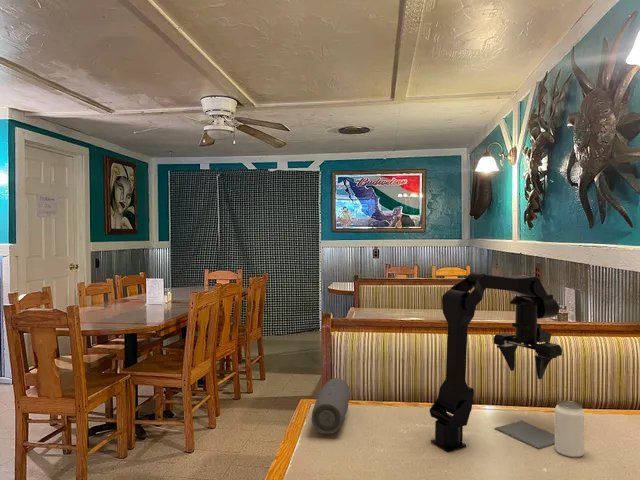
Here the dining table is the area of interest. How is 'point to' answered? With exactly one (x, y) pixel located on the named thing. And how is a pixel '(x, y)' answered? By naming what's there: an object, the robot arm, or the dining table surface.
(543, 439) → the mat
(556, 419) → the can
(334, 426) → the bluetooth speaker
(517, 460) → the dining table surface
